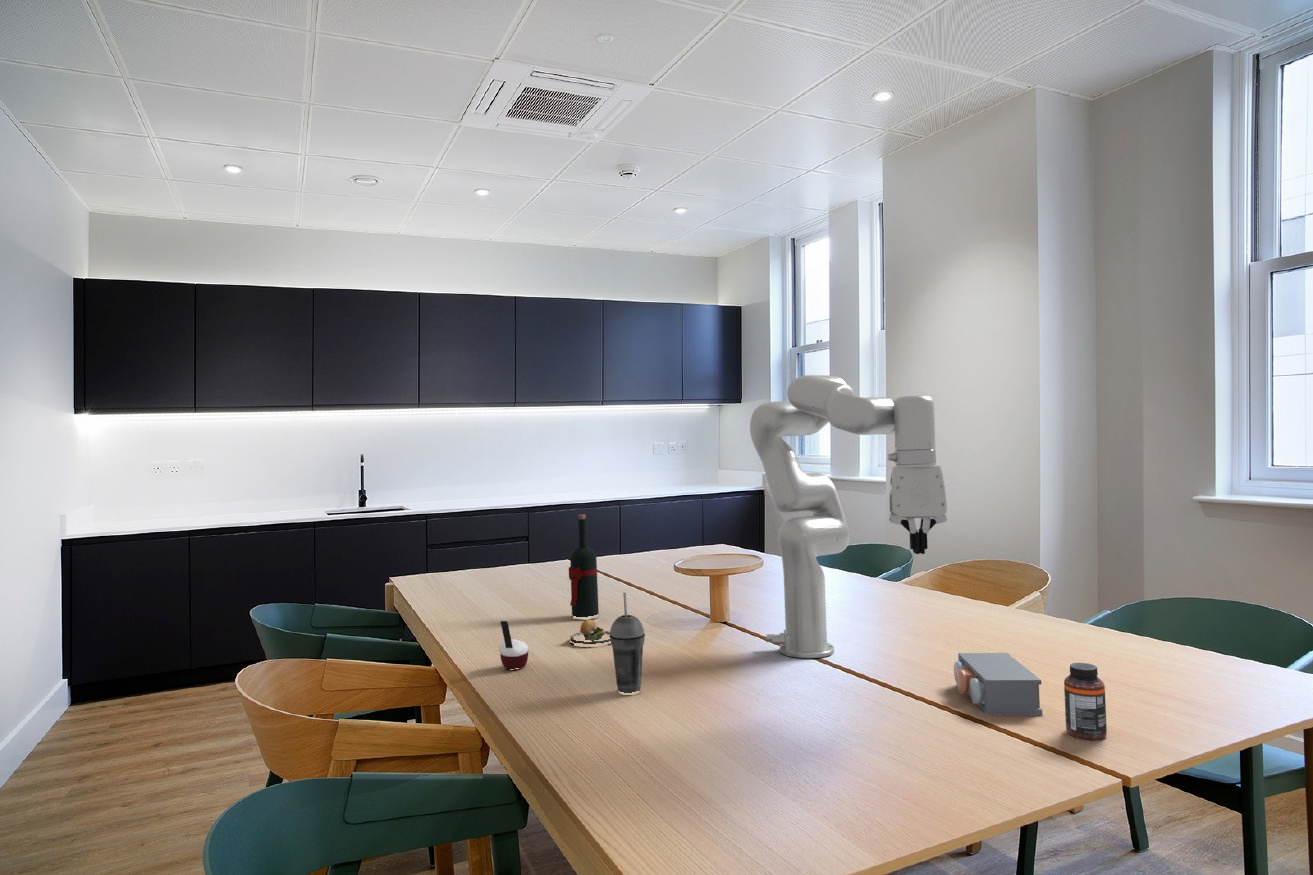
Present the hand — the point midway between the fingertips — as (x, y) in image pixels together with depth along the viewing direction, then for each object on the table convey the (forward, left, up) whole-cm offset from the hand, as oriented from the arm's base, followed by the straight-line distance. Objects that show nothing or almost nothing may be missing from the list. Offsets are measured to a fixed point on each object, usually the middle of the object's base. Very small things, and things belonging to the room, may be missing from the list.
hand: (918, 552), depth 155 cm
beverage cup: (-58, 0, -27) cm, 64 cm away
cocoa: (-87, +17, -27) cm, 93 cm away
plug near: (+11, -9, -26) cm, 30 cm away
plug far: (+11, +1, -26) cm, 28 cm away
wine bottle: (-81, +68, -27) cm, 109 cm away
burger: (-73, +41, -28) cm, 88 cm away
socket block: (+12, -4, -27) cm, 30 cm away
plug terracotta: (+10, -4, -26) cm, 28 cm away
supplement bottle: (+21, -22, -27) cm, 41 cm away
